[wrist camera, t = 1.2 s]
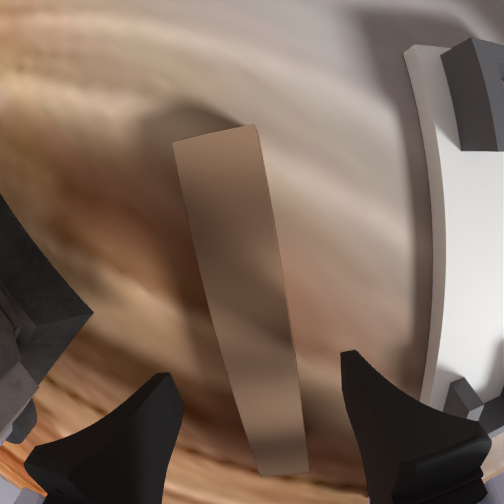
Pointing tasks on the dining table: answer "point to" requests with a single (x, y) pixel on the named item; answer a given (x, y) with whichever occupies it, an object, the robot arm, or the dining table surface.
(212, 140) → the walnut slat
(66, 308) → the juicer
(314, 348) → the dining table surface
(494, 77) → the end cap cradle
